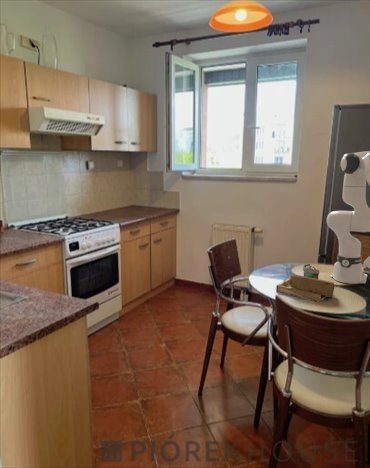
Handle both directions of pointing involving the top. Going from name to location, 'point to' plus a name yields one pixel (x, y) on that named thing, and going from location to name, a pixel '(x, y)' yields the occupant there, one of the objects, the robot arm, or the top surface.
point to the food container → (310, 271)
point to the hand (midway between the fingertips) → (363, 266)
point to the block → (312, 285)
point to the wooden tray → (297, 291)
